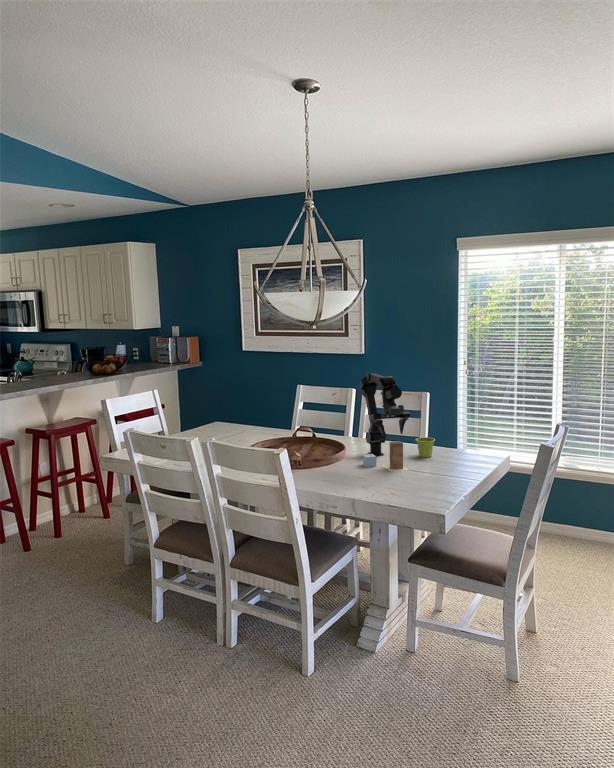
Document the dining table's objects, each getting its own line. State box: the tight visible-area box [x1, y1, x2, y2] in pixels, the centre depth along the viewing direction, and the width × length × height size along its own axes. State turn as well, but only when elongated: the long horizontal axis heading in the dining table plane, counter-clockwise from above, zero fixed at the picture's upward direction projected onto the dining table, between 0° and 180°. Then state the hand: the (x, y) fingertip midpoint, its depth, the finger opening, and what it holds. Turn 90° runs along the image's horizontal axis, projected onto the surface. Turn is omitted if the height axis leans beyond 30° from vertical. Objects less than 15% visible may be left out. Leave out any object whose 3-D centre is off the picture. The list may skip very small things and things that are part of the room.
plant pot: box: [415, 436, 436, 458], centre depth 296 cm, size 9×9×9 cm
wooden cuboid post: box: [389, 440, 404, 469], centre depth 277 cm, size 5×5×12 cm
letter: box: [381, 463, 409, 472], centre depth 278 cm, size 12×9×1 cm
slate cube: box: [362, 454, 377, 468], centre depth 283 cm, size 5×5×5 cm
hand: (392, 434), depth 279 cm, fingers open, 9 cm apart
